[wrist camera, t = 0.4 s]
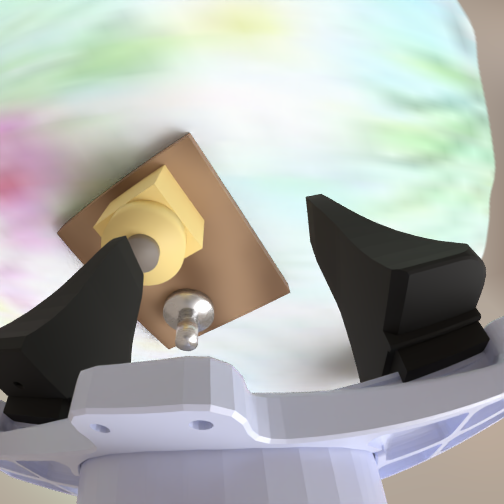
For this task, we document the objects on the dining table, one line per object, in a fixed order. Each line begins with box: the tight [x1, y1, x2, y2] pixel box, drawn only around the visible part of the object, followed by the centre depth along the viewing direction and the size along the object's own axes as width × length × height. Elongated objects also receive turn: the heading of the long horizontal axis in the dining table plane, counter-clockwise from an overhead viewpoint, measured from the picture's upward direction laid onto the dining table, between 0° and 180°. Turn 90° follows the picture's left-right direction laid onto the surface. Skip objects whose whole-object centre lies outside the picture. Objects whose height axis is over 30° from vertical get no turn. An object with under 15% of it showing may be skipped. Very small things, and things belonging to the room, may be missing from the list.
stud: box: [163, 289, 214, 351], centre depth 24 cm, size 4×4×4 cm
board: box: [57, 133, 290, 349], centre depth 23 cm, size 12×14×1 cm
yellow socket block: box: [93, 165, 204, 286], centre depth 18 cm, size 5×5×6 cm
